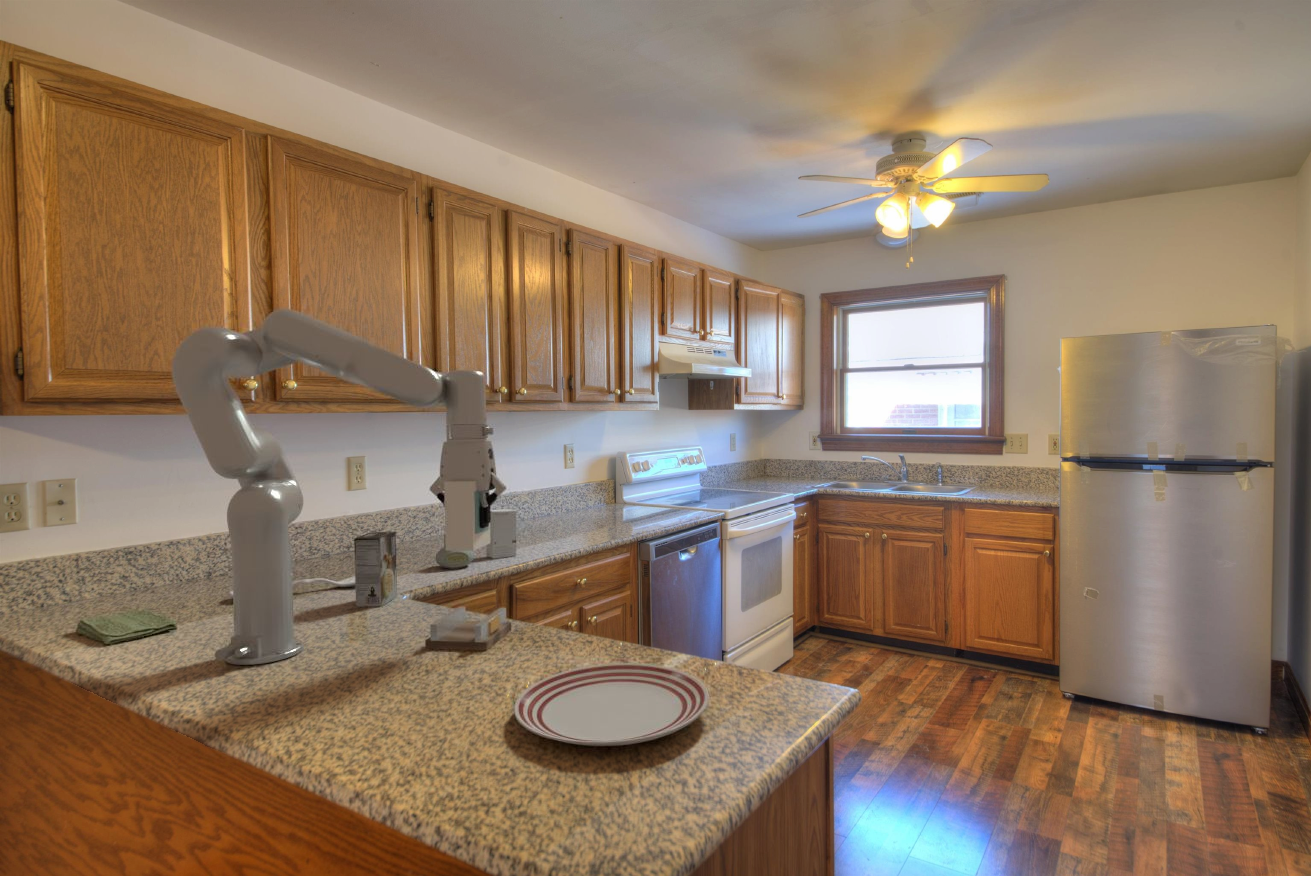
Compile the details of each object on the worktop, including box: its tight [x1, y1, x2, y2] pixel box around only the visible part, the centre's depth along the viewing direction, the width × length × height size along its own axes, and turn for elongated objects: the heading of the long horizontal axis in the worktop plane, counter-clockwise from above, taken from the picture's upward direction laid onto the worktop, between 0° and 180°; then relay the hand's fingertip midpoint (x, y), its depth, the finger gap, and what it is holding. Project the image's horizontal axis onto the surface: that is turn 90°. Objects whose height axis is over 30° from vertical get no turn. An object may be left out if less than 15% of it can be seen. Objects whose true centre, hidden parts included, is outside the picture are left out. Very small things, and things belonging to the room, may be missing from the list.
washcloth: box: [75, 609, 178, 645], centre depth 143 cm, size 13×18×3 cm
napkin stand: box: [424, 620, 512, 652], centre depth 135 cm, size 13×12×2 cm
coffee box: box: [353, 531, 398, 607], centre depth 165 cm, size 9×6×16 cm
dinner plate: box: [513, 662, 710, 747], centre depth 98 cm, size 28×27×3 cm
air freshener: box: [434, 533, 475, 570], centre depth 205 cm, size 11×8×10 cm
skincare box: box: [485, 508, 517, 560], centre depth 221 cm, size 8×6×15 cm
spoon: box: [228, 575, 355, 598], centre depth 175 cm, size 9×32×4 cm, turn 123°
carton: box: [443, 481, 490, 552], centre depth 135 cm, size 6×8×13 cm
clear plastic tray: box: [429, 606, 507, 642], centre depth 135 cm, size 13×10×3 cm
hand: (468, 526), depth 135 cm, fingers closed on carton, 5 cm apart
